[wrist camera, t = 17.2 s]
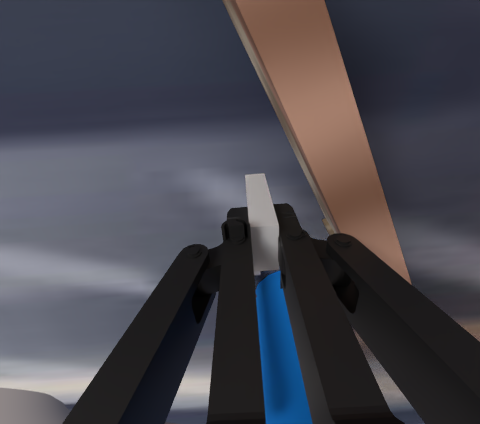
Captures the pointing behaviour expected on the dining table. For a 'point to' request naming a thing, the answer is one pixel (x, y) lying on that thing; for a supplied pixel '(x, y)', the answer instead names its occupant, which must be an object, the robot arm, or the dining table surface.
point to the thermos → (279, 357)
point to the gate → (319, 116)
